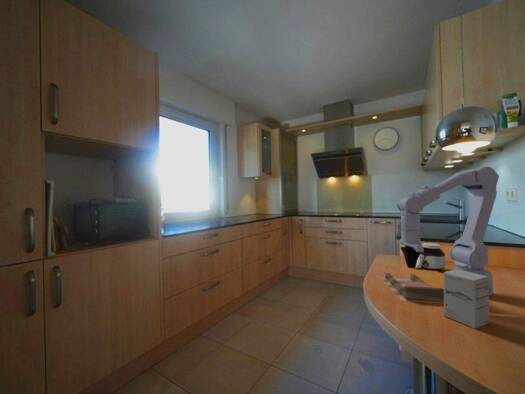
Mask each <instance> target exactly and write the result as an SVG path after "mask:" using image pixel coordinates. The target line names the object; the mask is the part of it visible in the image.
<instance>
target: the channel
mask: <svg viewBox="0 0 525 394" xmlns="http://www.w3.org/2000/svg"><path fill="white" fill-rule="evenodd" d="M409 277H410V278H400V277H399V278H398V277H394V276H392V274H391V273H389V272H384V277H383V276H382V277H381V279H382V280H383V281H384V283H385V284H386V285H387V286H388V287H389V288H390V289H391V291H393V293H394V294H395V295H396V296H397V297H398V299H399V300H401V301H402V302H413V303H414V302H416V303H417V302H418V303H428V304H429V303H430V304H431V303H432V304H443V305H444V288H443V287H442V288H441V287H433V286H431V285H430V284H428V285H429V286H431V287H432V288H429V287H412V286H405V281H413V282H425V283H427V282H426V281H424V280H423V279H421V278H420V277H419V276H418V275H416V274H415V273H410V274H409Z"/></svg>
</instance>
